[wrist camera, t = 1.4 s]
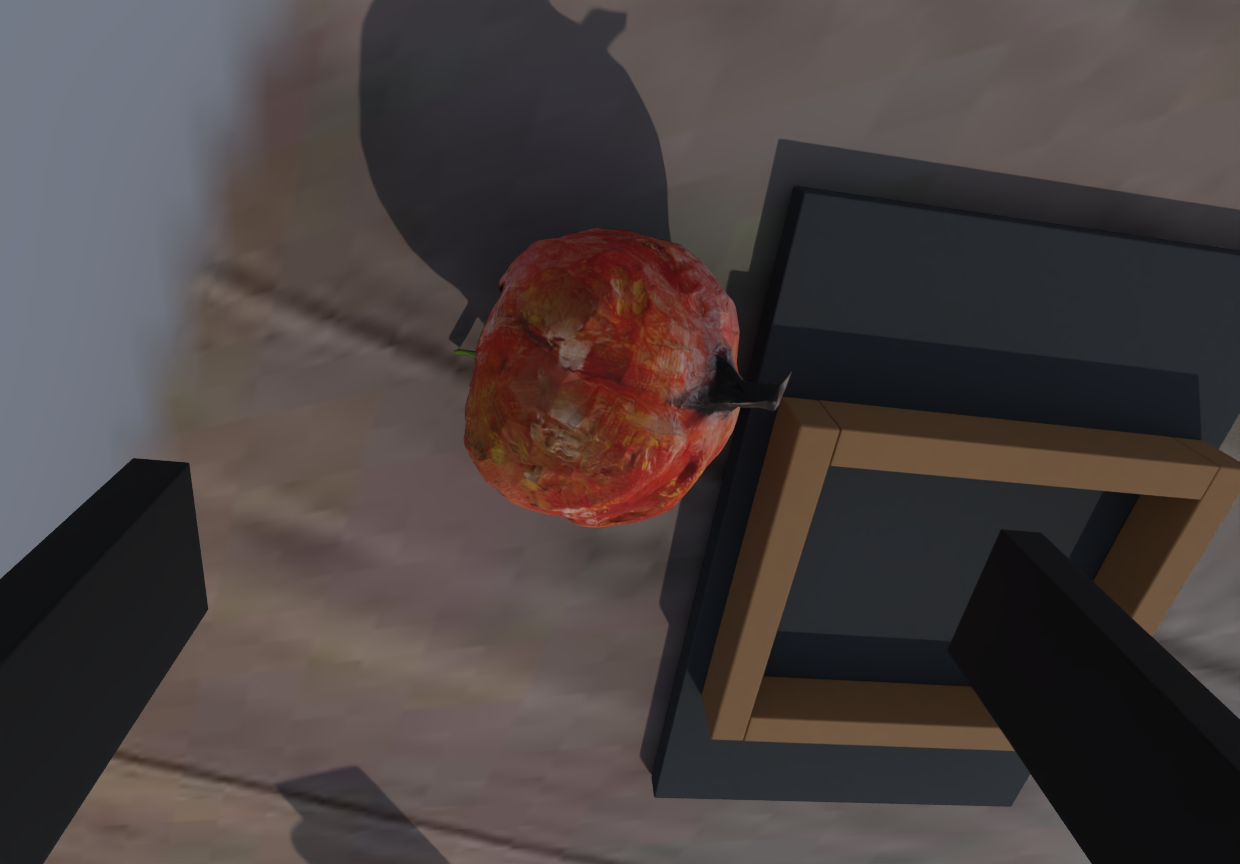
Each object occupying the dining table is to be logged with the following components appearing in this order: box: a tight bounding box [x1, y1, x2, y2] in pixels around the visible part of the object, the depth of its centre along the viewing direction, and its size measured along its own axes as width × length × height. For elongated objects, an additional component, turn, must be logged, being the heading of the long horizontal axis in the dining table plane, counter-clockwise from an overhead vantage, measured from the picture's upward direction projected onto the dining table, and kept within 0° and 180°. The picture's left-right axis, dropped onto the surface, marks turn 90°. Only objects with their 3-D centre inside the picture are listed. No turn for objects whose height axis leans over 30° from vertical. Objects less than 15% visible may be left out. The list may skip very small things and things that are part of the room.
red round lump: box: [454, 228, 792, 527], centre depth 18 cm, size 7×7×10 cm
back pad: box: [652, 186, 1240, 807], centre depth 25 cm, size 24×16×3 cm, turn 172°
